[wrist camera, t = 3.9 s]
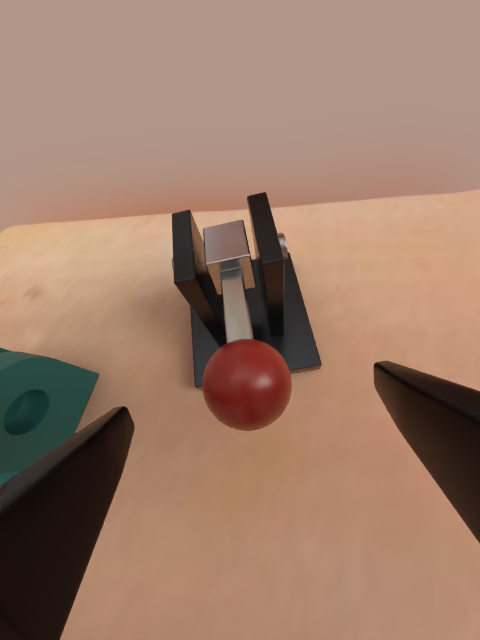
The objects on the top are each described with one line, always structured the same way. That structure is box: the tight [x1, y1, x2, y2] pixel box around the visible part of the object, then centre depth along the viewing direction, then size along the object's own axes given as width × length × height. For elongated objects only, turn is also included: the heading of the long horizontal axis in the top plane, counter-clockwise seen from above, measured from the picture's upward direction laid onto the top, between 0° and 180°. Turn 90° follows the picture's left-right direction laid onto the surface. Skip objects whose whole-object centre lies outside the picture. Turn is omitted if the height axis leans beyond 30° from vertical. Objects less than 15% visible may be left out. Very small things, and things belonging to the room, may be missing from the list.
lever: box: [202, 220, 292, 431], centre depth 12 cm, size 10×3×3 cm, turn 8°
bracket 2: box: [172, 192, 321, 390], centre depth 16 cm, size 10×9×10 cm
